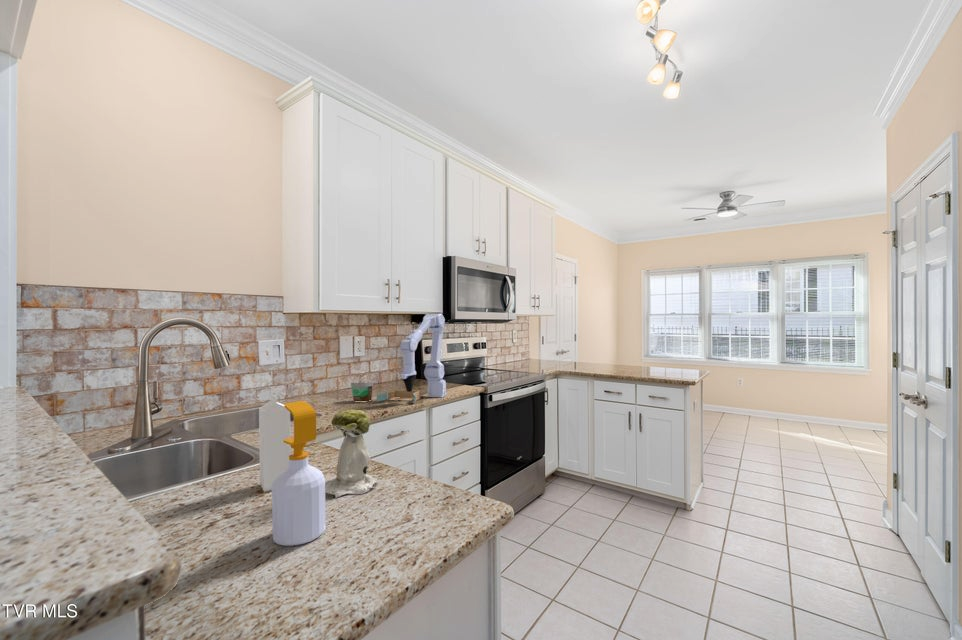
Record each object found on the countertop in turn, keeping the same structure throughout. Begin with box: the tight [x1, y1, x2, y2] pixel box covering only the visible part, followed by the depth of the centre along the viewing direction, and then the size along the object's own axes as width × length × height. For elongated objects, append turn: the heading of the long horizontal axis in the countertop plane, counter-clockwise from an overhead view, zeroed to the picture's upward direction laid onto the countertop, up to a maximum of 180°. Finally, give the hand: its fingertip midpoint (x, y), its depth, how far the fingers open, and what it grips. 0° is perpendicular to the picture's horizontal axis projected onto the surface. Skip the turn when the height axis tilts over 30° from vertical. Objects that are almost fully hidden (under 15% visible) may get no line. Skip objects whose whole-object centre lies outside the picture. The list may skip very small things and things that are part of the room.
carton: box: [387, 389, 421, 402], centre depth 212 cm, size 15×8×4 cm, turn 78°
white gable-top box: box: [258, 394, 292, 493], centre depth 101 cm, size 6×6×22 cm
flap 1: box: [376, 392, 388, 402], centre depth 206 cm, size 6×1×3 cm, turn 144°
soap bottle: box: [271, 400, 327, 547], centre depth 77 cm, size 9×9×25 cm
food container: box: [350, 380, 374, 401], centre depth 207 cm, size 12×6×10 cm, turn 73°
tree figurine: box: [325, 409, 379, 499], centre depth 99 cm, size 12×13×18 cm
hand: (409, 391), depth 202 cm, fingers closed
